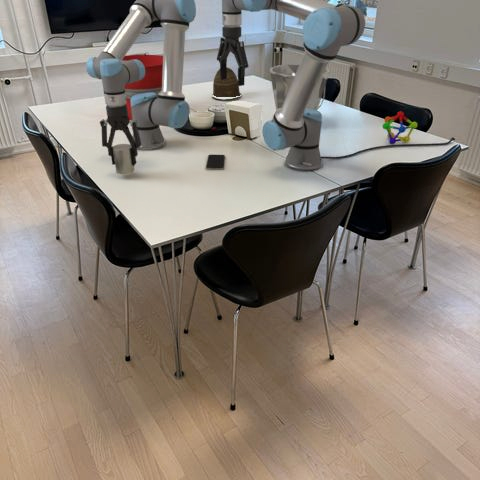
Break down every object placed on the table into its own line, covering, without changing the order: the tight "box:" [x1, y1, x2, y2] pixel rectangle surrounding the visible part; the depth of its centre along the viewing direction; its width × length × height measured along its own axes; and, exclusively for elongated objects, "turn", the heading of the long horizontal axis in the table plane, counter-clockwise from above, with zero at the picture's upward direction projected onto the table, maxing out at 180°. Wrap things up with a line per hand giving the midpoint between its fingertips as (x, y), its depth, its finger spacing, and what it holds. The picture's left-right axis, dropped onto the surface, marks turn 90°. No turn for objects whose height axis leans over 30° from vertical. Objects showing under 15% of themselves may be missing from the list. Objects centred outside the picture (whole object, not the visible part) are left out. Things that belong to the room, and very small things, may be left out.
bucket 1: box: [122, 52, 163, 120], centre depth 240 cm, size 35×35×30 cm
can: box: [112, 143, 136, 176], centre depth 172 cm, size 7×7×10 cm
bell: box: [212, 58, 242, 97], centre depth 278 cm, size 19×26×20 cm
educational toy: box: [382, 110, 418, 145], centre depth 207 cm, size 16×13×15 cm
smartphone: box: [205, 154, 226, 170], centre depth 188 cm, size 7×1×15 cm
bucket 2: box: [269, 63, 330, 111], centre depth 226 cm, size 30×30×28 cm
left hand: (124, 163), depth 173 cm, fingers closed on can, 7 cm apart
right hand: (232, 82), depth 184 cm, fingers open, 13 cm apart
